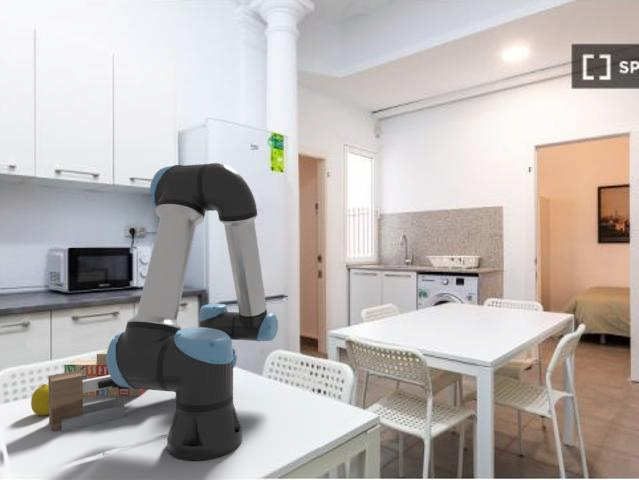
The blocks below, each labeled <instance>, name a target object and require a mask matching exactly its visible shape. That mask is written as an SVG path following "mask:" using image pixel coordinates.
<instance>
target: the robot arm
mask: <svg viewBox="0 0 639 480" xmlns="http://www.w3.org/2000/svg"><path fill="white" fill-rule="evenodd" d="M149 194H150V195H151V197H150V201H151V205H152V206H153V207H154V208H155V210H154V211H155V214H156V215H157V217H158V218H159V221H158V226H157V230H156V235H155V238H154V243H153V246H152V252H151V255H150V257H149V258H150V259H149V263H148V267H147V271H146V275H145V280H144V285H143V288H142V291H141V292H142V293H141V296H140V299H139V304H138V309H137V313H136V315H134V316H133V317H132V318H131V319H129V320H127V323H126V326H125V331H122V332H119V333H117V334H116V335H115V336H114V338H112V339H111V341H110V342H109V345H108V346H107V347H108V348H107V349H108V350H107V357H106V363H107V369H108V372H109V374H110V375H107V376H101V377H96V378H91V379H86V380H82V382H83V393H88V392H92V391H97V390H102V389H107V388H117V387H118V389H123V388H132V389H147V391H161V392H172V393H175V411H174V414H173V417H172V421H171V424H170V428H169V429H168V430H169V431H168V434H167V439H166V440H167V443H166V444H167V445H166V447H167V451H168V453H169V454H170V455H171V456H173V457H174V458H177V459H180V460H181V459H182V460H184V461H185V460H187V461H203V460H211V459H215V458H218V457H221V456H224V455H226V454H229V453H231V452H233V451H234V450H236V449H237V448H238V447H239V446H240V445H241V444H242V441H243V428H242V425H241V420H240V418H239V416H238V413H237V410H236V408H235V404H234V368H235V367H236V365H237V358H238V356H237V353H236V349H235V347H234V346H233V341H235V340H236V341H250V342H251V341H252V342H253V341H255V342H258V343H259V342H271V341H273V340H274V339H275V338H276V336H277V333H278V328H279V320H278V317H277V315H276V314H275V313H271V312H268V309H267V303H266V295H265V287H264V286H265V285H264V279H263V274H262V267H261V261H260V260H261V258H260V251H259V245H258V237H257V232H256V231H257V229H256V224H255V219H256V218H257V217H258V209H257V203H256V200H255V197H254V195H253V191H252V190H251V188H250V186H249V185H248V183H247V182H246V180H245V179H244V178H243V176H241V174H240V173H238V172H237V170H235V169H234V168H232V167H230V166H228V165H226V164H223V163H217V162H215V163H214V162H213V163H212V162H210V163H200V164H187V165H184V164H174V165H171V166H165V167H162V168H160V169H159V170H158V171H156V172H155V174H154V175H153V177H152V179H151V182H150V187H149ZM208 211H216V212H217V215H218V221H219V222H220V223H222V224H223V227H224V231H225V236H226V237H225V238H226V243H227V248H228V255H229V260H230V265H231V272H232V278H233V284H234V290H235V296H236V302H237V308H238V311H237V312H236V311H235V312H234V311H228V307H227V305H226V304H225V303H209V304H205V305H202V306H201V307H200V310H199V321H198V323H199V327H196V326H195V327H193V326H192V327H185V328H182V327H181V326H180V325H179V324H178V323H179V322H178V321H177V319H178V315H179V309H180V304H181V301H182V296H183V289H184V285H185V283H186V276H187V271H188V266H189V261H190V257H191V251H192V247H193V244H194V243H193V242H194V238H195V233H196V228H197V226H199V225H201V224H203V222H204V220H205V216H206V213H207V212H208ZM232 340H233V341H232Z"/></svg>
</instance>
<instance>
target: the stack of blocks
mask: <svg viewBox="0 0 639 480" xmlns="http://www.w3.org/2000/svg"><path fill="white" fill-rule="evenodd" d="M107 350H108V348H106V349H103V350H102V351H100V352H97V353H96V358H83V357H82V358H75V359H73V360H72V361H70V362H67V363H65V364H64V366H63V368H64V370H63V371H64V373H68V372H73V371H79V372H80V374H81V375H82V380H86V379H91V378H96V377H101V376H107V375H110V374H109V372H108V369H107V363H106V357H107ZM147 391H148V390H147V389H132V388H123V389H118V387H117V388H107V389H102V390H97V391H92V392H88V393H83V396H110V397H111V396H112V397H116V396H117V397H118V396H119V397H120V396H121V397H123V396H124V397H125V396H127V397H128V396H129V397H141V396H142V395H143V394H145V393H147Z"/></svg>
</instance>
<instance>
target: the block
mask: <svg viewBox="0 0 639 480" xmlns="http://www.w3.org/2000/svg"><path fill="white" fill-rule="evenodd" d="M47 377H48V378H47V379H48V385H49V414H48V425H49V426H50V429H51V431H52V432H55V431H59V430H61V420H62V419H66V418H71V417H75V416H79V415H83V404H84V403H83V402H84V398H83V396H84V395H83V382H82V375H81V374H80V372H79V371H73V372H68V373H65V372H63V373H57V374H51V375H48V376H47Z"/></svg>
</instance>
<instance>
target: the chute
mask: <svg viewBox="0 0 639 480" xmlns="http://www.w3.org/2000/svg"><path fill="white" fill-rule="evenodd" d="M124 417H126V406H125V405H124V404H122V405H118V399H117V397H116V396H112V397H108V398H104V399H98V400H95V401H90V402H87V403H83V415H79V416H75V417H71V418H66V419H62V420H61V429H60V430H61V432H62V433H65V432H70V431H73V430H76V429H81V428H85V427H89V426H93V425H96V424H100V423H105V422H108V421H113V420H115V419H116V420H117V419H120V418H124Z"/></svg>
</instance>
